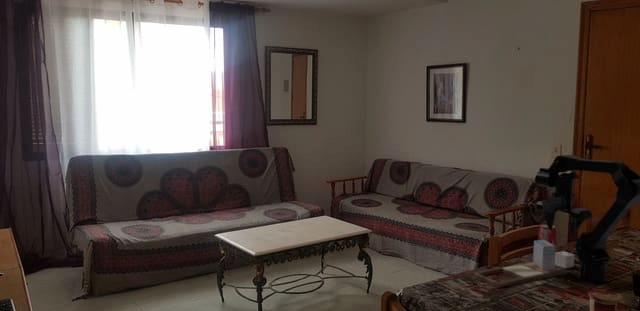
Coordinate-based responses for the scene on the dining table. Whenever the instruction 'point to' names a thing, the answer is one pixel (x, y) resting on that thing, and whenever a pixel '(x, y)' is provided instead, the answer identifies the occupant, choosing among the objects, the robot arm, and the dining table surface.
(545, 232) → the beverage can
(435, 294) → the dining table surface
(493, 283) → the board
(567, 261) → the die
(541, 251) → the medicine box
